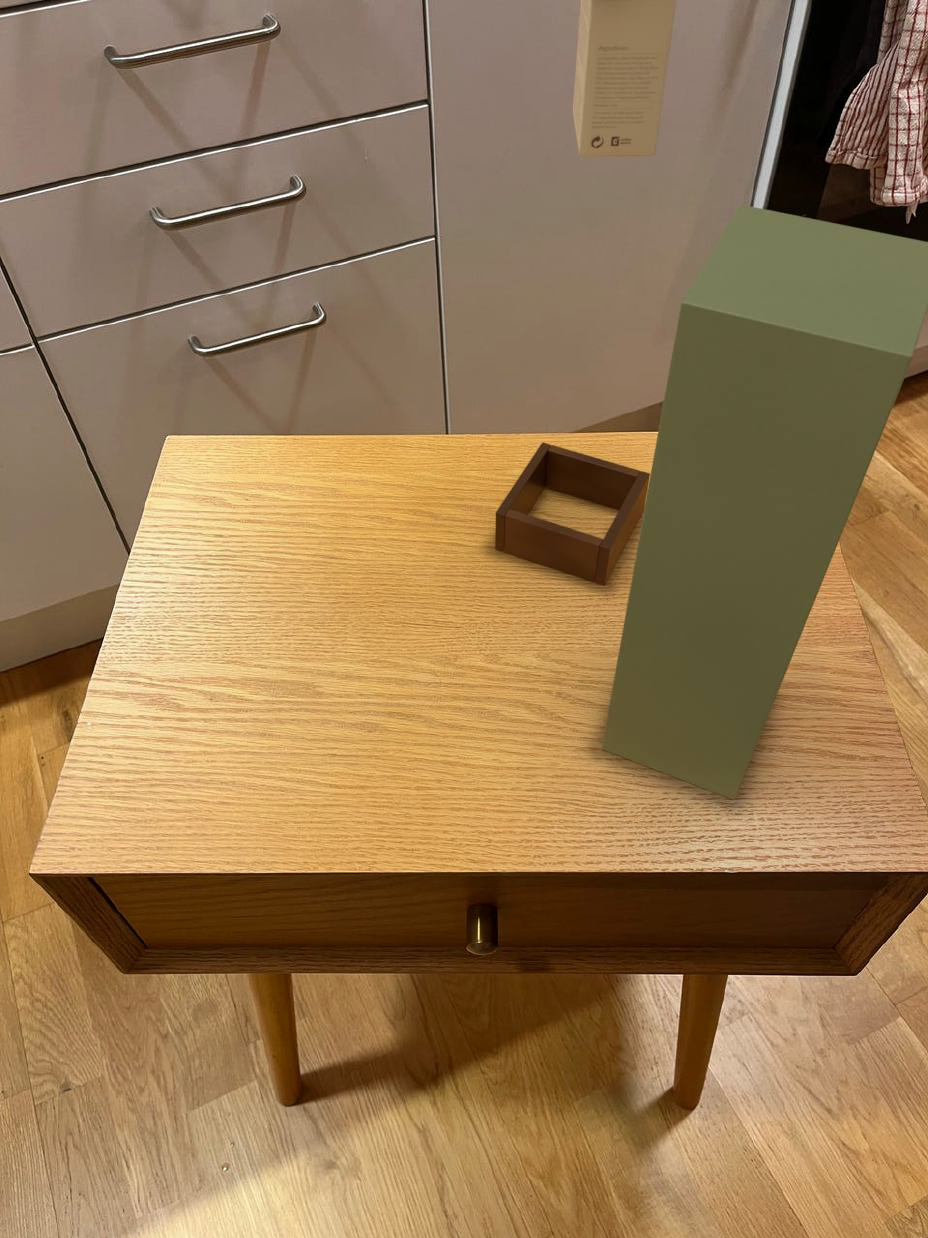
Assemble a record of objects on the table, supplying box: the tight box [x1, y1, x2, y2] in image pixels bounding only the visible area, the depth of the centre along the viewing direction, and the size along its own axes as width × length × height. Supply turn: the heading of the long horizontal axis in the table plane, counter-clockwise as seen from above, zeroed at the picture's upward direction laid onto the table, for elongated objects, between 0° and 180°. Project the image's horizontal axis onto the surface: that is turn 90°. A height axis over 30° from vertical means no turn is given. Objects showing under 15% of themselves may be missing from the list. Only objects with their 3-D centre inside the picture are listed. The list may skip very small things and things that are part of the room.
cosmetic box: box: [572, 0, 677, 158], centre depth 49 cm, size 6×4×12 cm
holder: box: [494, 441, 651, 586], centre depth 76 cm, size 9×9×4 cm
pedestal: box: [601, 204, 928, 800], centre depth 52 cm, size 9×9×33 cm
